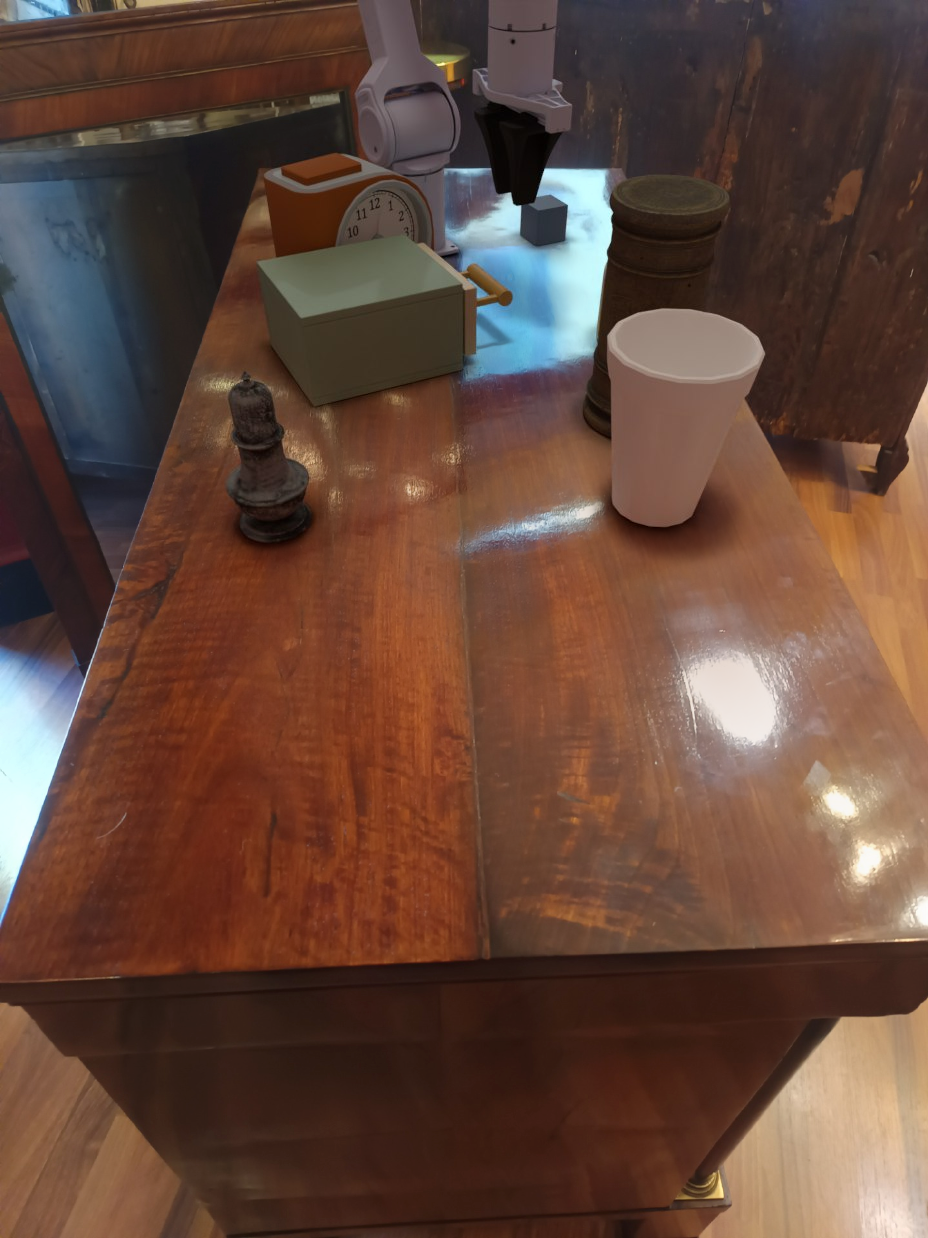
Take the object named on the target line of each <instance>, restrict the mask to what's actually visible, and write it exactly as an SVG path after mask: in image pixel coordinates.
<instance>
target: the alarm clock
mask: <svg viewBox="0 0 928 1238" xmlns="http://www.w3.org/2000/svg"><path fill="white" fill-rule="evenodd" d="M263 185H264V191H265V198H266V203H267V208H268V215H269V222H270V228H271V234H272V240H273V246H274V253H275V258H278V257H284V256H289V255H294V254H300V253H305V252H310V251H316V250H321V249H326V248H332V247H337V246H342V245H348V244H353V243H358V242H364V241H369V240H374V239H380V238H385V237H390V236H396V235H401V234H405V235H406V236H407V237H409V238H410V239H411V240H412V241H413V242H414V243H416V244H419V243H425V244H426V245H427V246H428V247H429V248H430V249H432V250H433V251H434V228H433V220H432V213H431V210H430V207H429V204H428V202H427V199H426V197H425V196H424V194H423V193H422V191H421V190H420V189H419V187H418V186H417V185H416V184H415V183H414V182H412V181H411V180H410V179H408V178H407V177H405V176H403V175H400V174H398V173H395V172H393V171H390V170H388V169H385V168H383V167H380V166H378V165H375V164H373V163H371V162H370V161H369V160H368V161H367V160H365V159H362V158H360V157H358V156H354V155H350V154H347V153H338V152H334V153H329V154H325V155H322V156H317V157H313V158H310V159H306V160H302V161H298V162H294V163H290V164H286V165H281V166H280V167H276V168H273V169H270V170H268V171H266V172H265V173H264V174H263Z"/></svg>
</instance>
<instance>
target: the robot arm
mask: <svg viewBox="0 0 928 1238" xmlns="http://www.w3.org/2000/svg"><path fill="white" fill-rule="evenodd" d="M356 2H357V3H356V4H357V7H358V11H359V15H360V20H361V23H362V27H363V32H364V37H365V40H366V44H367V45H366V46H367V49H368V53H369V57H370V61H371V66H370V68H369V69H368V71H367V72H366V74H365V75H364V77H363V78H362V80H361V81H360V83H359V85H358V87H357V88H356V91H355V92H354V99H355V105H356V110H357V118H358V121H357V122H358V123H357V125H358V127H357V129H358V136H359V137H358V138H359V141H360V145H361V148H362V151H363V153H364V154H365V156H366V158H367V160H368V161H369V162H370V163H373V164H375V165H378V166H380V167H383V168H385V169H388V170H390V171H393V172H395V173H398V174H400V175H403V176H405V177H407V178H408V179H410V180H411V181H412V182H414V183H415V184H416V185H417V186H418V187H419V189H420V190H421V191H422V193H423V194H424V196H425V197H426V199H427V202H428V204H429V207H430V210H431V213H432V220H433V228H434V252H435V253H436V254H438V255H439V256H440V257H443V256H449V255H453V254H457V253H459V252H460V247H458V245H456V244H455V243H454V242H452V241H451V240H450V239H449V238H447V237H446V202H445V200H446V199H445V198H446V195H445V193H446V192H445V165H447V164H450V163H451V161H450V160H451V158H450V157H451V156H450V154H452V153H453V152H454V151H456V149H457V146H458V144H459V141H460V135H461V116H460V112H459V108H458V105H457V103H456V101H455V100H454V97H453V96H452V93H451V90H450V88H449V85H448V82H447V76H446V72H445V71H444V70H443V68H442V67H440V66H439V65H438V64H437V63H435V62H434V61H432V60H431V59H430V58H428V57H427V56H426V55H425V54H424V53H423V52H422V51H421V46H420V42H419V37H418V36H419V35H418V33H417V28H416V22H415V18H414V13H413V7H412V4H411V0H356ZM558 3H559V0H488V16H487V17H488V20H487V21H488V23H487V25H488V26H487V67H483V68H473V69H472V94H474V95H476V96H484V98H486V99H487V100H488V103H487V104H486V106H483V107H477V108H475V109H474V110H473V111H474V112H473V118H474V120H475V122H476V123H477V126H478V128H479V130H480V133H481V135H482V138H483V140H484V144H485V147H486V151H487V154H488V160H489V164H490V170H491V175H492V176H491V177H492V181H493V186H494V189H495V193H496V194H497V195H504V194H509V193H510V196H511V201H512V204H513V205H514V206H516V207H521V205H526V204H531V203H535V200H536V197H538V193H539V189H540V187H541V182H542V179H543V175H544V173H545V170H546V166H547V163H548V161H549V159H550V157H551V154H552V152H553V150H554V148H555V147H556V145H557V143H558V141H559V140H560V138H561V136H562V135H563V133H564V132H569V131H571V127H572V116H573V115H572V114H573V104H572V103H570V102H568V101H567V100H565V98H564V97H563V96H562V95H561V93H562V92H563V85H564V83H563V82H562V81H559V80H557V79H554V65H555V64H554V63H555V49H556V33H557V19H558V18H557V17H558ZM404 93H405V95H400V94H404ZM406 93H410V94H406ZM393 95H399V96H393ZM389 96H393V97H389ZM385 97H389V98H385Z"/></svg>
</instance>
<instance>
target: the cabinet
mask: <svg viewBox="0 0 928 1238" xmlns="http://www.w3.org/2000/svg"><path fill="white" fill-rule="evenodd" d="M255 265H256V268H257V274H258V280H259V281H258V282H259V286H260V292H261V297H262V302H263V307H264V308H263V309H264V313H265V319H266V325H267V330H268V336H269V341H270V346H271V347H272V349H273V351H275V353H276V355H277V356H278V357H279V359H280V360H281V361H282V363H283V365H284V366H285V367H286V370H287V371H288V372H289V373H290V375H291V376H292V377H293V378H294V380H295V382H296V383H297V385H298V386H299V387H300V389H301V390H302V392H303V393H304V395H305V397H306V398H307V399H308V401H309V402H310V403H311V405H312V406H313V407H314V408H315V407H319V406H324V405H326V404H331V403H335V402H339V401H342V400H346V399H347V400H348V399H351V398H355V397H358V396H363V395H367V394H370V393H374V392H378V391H383V390H387V389H391V388H396V387H399V386H403V385H406V384H411V383H415V382H419V381H423V380H427V379H431V378H435V377H440V376H443V375H447V374H452V373H455V372H459V371H463V370H464V355H463V293H462V292H463V284H462V283H461V282H460V281H459V280H458V279H456V278H455V277H454V276H453V275H452V274H451V273H449V272H448V271H447V270H446V269H445V268H444V267H442V266H441V265H440V264H439V263H438V262H437V261H435V260H434V259H433V258H432V257H431V256H430V255H428V254H427V253H426V252H425V251H424V250H423V249H421V248H420V247H419V246H418V245H417V244H416V243H414V242H413V241H412V240H411V239H410V238H409V237H407V236H406V235H405V234H401V235H396V236H390V237H385V238H380V239H374V240H369V241H364V242H358V243H353V244H348V245H342V246H337V247H332V248H326V249H321V250H316V251H310V252H305V253H300V254H294V255H289V256H284V257H278V258H276V257H273V258H268V259H267V258H266V259H263V260H257V261H256V264H255Z"/></svg>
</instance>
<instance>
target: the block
mask: <svg viewBox="0 0 928 1238" xmlns="http://www.w3.org/2000/svg"><path fill="white" fill-rule="evenodd" d="M568 212H569V205H568V204H567V203H566V202H564V201H562V200H561V199H559V198H557V197H556V196H554V195H552V194H546V195H540V196H537V197H536V200H535V203H531V204H526V205H521V206H520V224H519V225H520V226H519V236H522V238H523V239H525V240H527V241H528V242H529V243H531V244H532V245H534V246H535V247H540V246H545V245H549V244H554V243H559V242H560V243H561V242H565V241H566V236H567V235H566V234H567V225H568V223H567V222H568Z"/></svg>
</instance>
